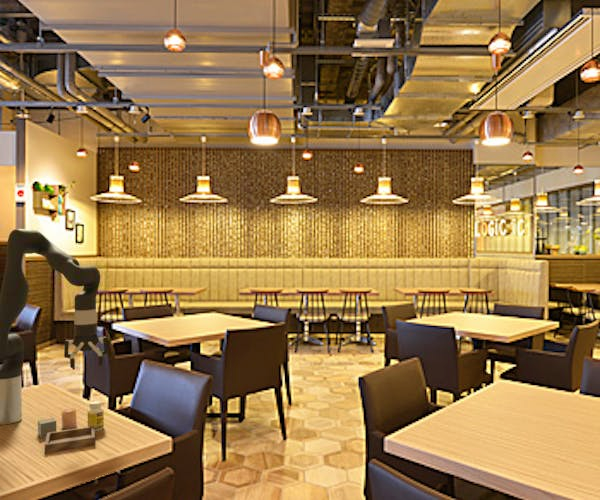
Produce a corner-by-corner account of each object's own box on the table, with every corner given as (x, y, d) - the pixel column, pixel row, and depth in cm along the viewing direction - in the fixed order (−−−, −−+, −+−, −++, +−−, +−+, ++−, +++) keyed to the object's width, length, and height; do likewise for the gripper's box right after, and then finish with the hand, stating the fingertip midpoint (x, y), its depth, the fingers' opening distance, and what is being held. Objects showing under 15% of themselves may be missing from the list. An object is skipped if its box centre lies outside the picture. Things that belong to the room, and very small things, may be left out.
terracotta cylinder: (61, 430, 184) (61, 413, 184) (62, 426, 188) (61, 409, 188) (76, 427, 186) (76, 411, 186) (76, 423, 190) (76, 407, 190)
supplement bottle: (98, 432, 181) (97, 404, 181) (84, 431, 182) (84, 404, 182) (106, 427, 186) (106, 400, 186) (93, 426, 187) (93, 399, 187)
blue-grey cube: (41, 438, 176) (40, 424, 176) (38, 434, 180) (37, 420, 180) (56, 434, 179) (56, 420, 179) (53, 431, 183) (53, 417, 183)
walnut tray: (44, 453, 162) (44, 444, 162) (47, 440, 173) (47, 432, 173) (95, 445, 168) (94, 437, 168) (94, 433, 179) (94, 425, 179)
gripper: (106, 319, 186) (107, 363, 186) (64, 322, 180) (65, 367, 180) (107, 322, 179) (108, 367, 179) (63, 325, 173) (64, 372, 173)
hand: (86, 367), depth 179 cm, fingers open, 8 cm apart
